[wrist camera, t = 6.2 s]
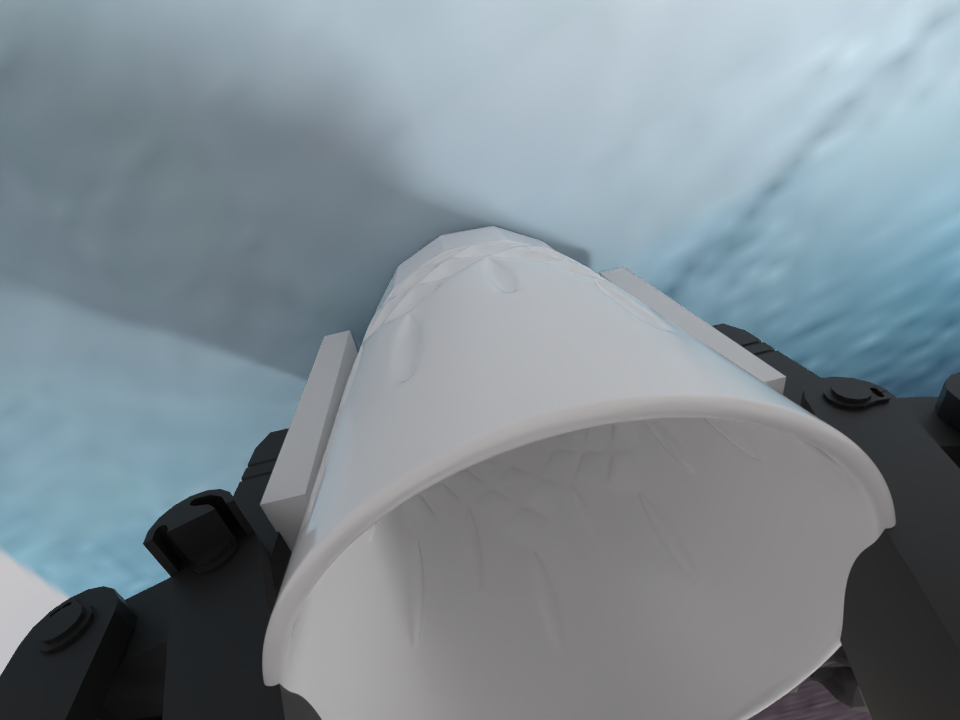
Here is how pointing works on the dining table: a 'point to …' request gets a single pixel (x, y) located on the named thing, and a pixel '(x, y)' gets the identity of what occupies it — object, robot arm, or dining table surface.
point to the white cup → (562, 511)
